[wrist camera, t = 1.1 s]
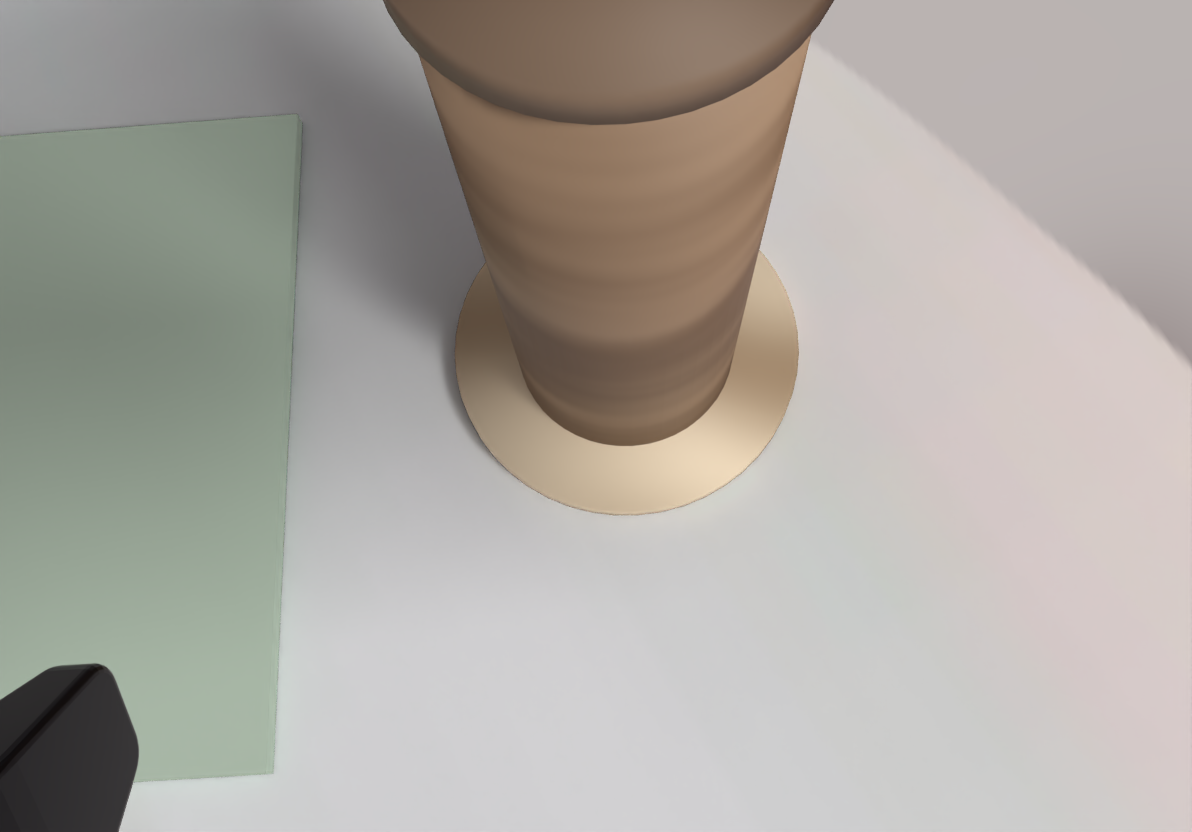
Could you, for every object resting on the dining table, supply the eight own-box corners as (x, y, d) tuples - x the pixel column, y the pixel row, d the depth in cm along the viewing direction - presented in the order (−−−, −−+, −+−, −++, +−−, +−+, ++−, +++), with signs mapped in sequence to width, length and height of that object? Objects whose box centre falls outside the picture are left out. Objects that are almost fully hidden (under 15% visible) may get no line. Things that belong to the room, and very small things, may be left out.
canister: (753, 446, 22) (901, 66, 9) (513, 462, 22) (350, 108, 10) (729, 232, 24) (827, -326, 11) (506, 248, 24) (360, -287, 11)
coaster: (816, 503, 22) (819, 499, 21) (459, 526, 22) (457, 522, 22) (775, 189, 24) (777, 181, 24) (455, 213, 24) (453, 204, 24)
